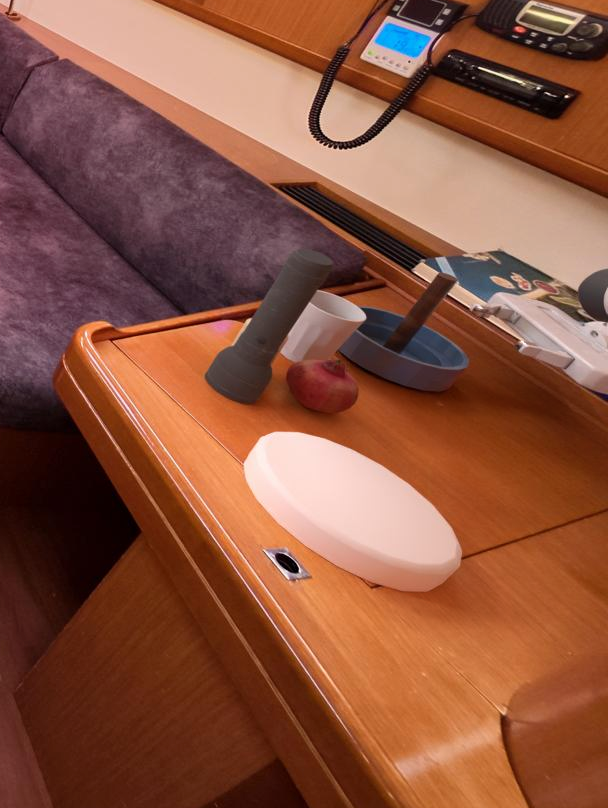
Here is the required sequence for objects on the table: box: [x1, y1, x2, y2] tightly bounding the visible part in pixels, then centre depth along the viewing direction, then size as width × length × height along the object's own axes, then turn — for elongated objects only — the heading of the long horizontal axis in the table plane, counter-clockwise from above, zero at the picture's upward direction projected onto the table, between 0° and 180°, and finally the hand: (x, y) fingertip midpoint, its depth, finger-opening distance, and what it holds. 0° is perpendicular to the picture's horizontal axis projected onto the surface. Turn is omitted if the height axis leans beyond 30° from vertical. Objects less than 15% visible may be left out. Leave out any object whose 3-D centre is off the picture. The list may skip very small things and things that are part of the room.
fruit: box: [285, 358, 360, 414], centre depth 101 cm, size 8×8×10 cm
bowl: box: [337, 305, 470, 392], centre depth 111 cm, size 15×15×6 cm
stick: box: [381, 272, 459, 355], centre depth 108 cm, size 4×4×18 cm
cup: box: [279, 289, 366, 364], centre depth 110 cm, size 8×8×12 cm
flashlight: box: [204, 247, 334, 405], centre depth 99 cm, size 7×28×7 cm
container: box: [242, 431, 463, 593], centre depth 85 cm, size 20×20×5 cm
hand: (495, 327), depth 104 cm, fingers open, 8 cm apart
